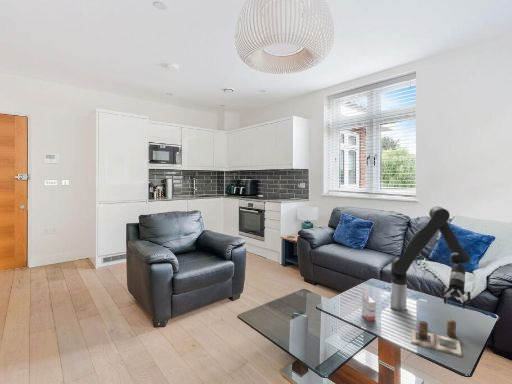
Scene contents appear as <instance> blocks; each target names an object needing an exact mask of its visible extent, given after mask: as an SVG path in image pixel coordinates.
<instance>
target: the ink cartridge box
mask: <svg viewBox="0 0 512 384" xmlns="http://www.w3.org/2000/svg"><path fill="white" fill-rule="evenodd" d="M376 304H377V302H376V301H375V300H373V298H371V296H368V295H366V293H365V292H362V301H361V306H362V307H361V315H362V316H363V317H364V318H365V319H366V320H367V321H368V322H370V321H371V322H372V321H376Z"/></svg>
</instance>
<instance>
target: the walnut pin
mask: <svg viewBox="0 0 512 384" xmlns="http://www.w3.org/2000/svg"><path fill="white" fill-rule="evenodd" d="M446 321H447V322H446V335H447V336H448V337H449V338H456V337H457V335H456V332H457V322H456V321H457V320H454V319H447V320H446Z"/></svg>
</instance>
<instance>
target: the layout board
mask: <svg viewBox="0 0 512 384" xmlns="http://www.w3.org/2000/svg"><path fill="white" fill-rule="evenodd" d="M410 335H411V337H410V344H414V345H418V346H422V347H425V348H429V349H432V350H436V351H440V352H443V353H447V354H451V355H454V356H459V357H463V354H462V353H463V352H462V347H461V342H460V339H455V338H453V337H449V336H448V337H447V336H442V335H439V334H435V333H430V332H428V334H427V339H422V338H420V337H419V329H415V328H411V334H410Z"/></svg>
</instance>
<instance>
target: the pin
mask: <svg viewBox="0 0 512 384" xmlns="http://www.w3.org/2000/svg"><path fill="white" fill-rule="evenodd" d="M428 325H429V323H428V322H427V321H424V320H419V321H418V330H419V337H420V338H422V339H427V334H428V333H429V332H428V331H429V329H428Z"/></svg>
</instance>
